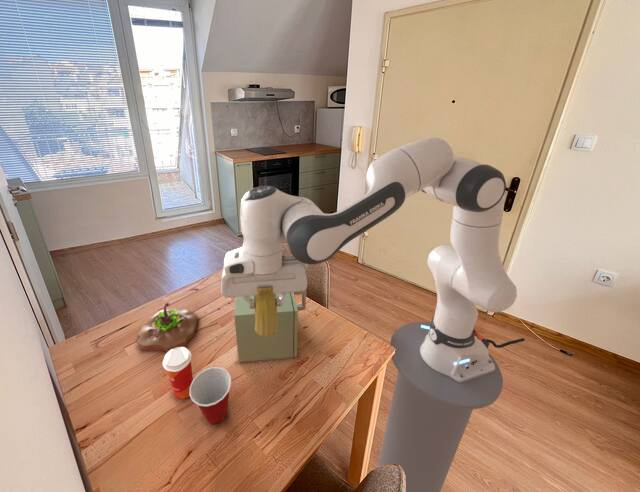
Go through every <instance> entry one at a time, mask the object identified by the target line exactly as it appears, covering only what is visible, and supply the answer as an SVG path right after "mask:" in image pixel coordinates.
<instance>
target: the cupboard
mask: <svg viewBox="0 0 640 492" xmlns="http://www.w3.org/2000/svg"><path fill="white" fill-rule="evenodd" d="M280 294H281V293H276V297H279V296H280ZM249 297H250V298H251V299H254V295H252V296H249ZM234 299H235V301H234V314H233V315H234V325H235V326H234V328H235V336H236V338H235V339H236V346H237V347H236V349H237V359H238V363H246V362H256V361H257V362H258V361H266V360H269V361H270V360H280V359H289V358H291V359H292V358H294V353H293V337H294V310H293V305H292V300H291V295H290V292H288V293H287V296H286V297H285V299H284V300H283V306H277V314H278V326H279V327H278V331H277V332H276V333H275V334H274V335H272V336H268V337H264V336H260V335H258V334H257V333H256V331H255V308H254V309H249V304H248V303H247V302H246V301H245V300H244V299H243V296H241V297H234Z"/></svg>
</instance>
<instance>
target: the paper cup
mask: <svg viewBox="0 0 640 492" xmlns="http://www.w3.org/2000/svg"><path fill="white" fill-rule="evenodd" d="M162 367H163V369H164V370H165V372H166V375H167V379H168V381H169V385H170V387H171V390H172V392H173V395H174V397H175V398H176V399H178V400H184V399H187V398H188V397H190V395H189V391H190V385H191V383H192V381H193V379H194V378H193V367H192V352H191V351H190V350H189V349H188V348H186V346H185V347H181V348H180V347H177V348H175V349H171V350H169V351H168V352H166V353H165V355H164V357H163V360H162Z"/></svg>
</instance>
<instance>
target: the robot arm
mask: <svg viewBox="0 0 640 492" xmlns="http://www.w3.org/2000/svg"><path fill="white" fill-rule="evenodd" d="M365 183H366V188H367V192H366V193H365V194H364V195H363V196H361V197H359V198H358V199H356V200H354V201H353V202H351V203H349V204H348V205H345V206H344V207H343V208H341V209H339V210H338V211H336V212H333V213H325V212H323V211H322V210H321V209H320V207H318V205H316V203H314V202H313V201H312V199H309V198H308V197H305V196H300V195H292V194H288V193H286V192H284V191H281V190H280V189H278V188H277V187H275V186H273V185H260V186H257V187H253V188H251V189H250V190H248V191H247V192H246V193H244V194H243V196H242V198H241V201H240V209H239V219H240V232H241V234H242V237H243V243H242V246H241V247H238V248H236V249H232V250H230V251H227V252H226V253H225V255H224V259H223V267H222V273H221V280H220V294H221V296H223V297H224V298H226V299H227V298H228V299H229V298H236V297H241V296H243V299H244V300H245V301H246V302H247V303H248V304H249V309H254V308H255V302H254V299H251V298H250V297H249V296H252V295H257V294H258V291H257V287H259V288H269V287H271V286H273V293H274V294H276V293H281V294H280V296H279V297H276V305H277V306H283V300H284V299H285V297H286V296H287V293H288V292H300V291H304V290H305V289H306V290H307V289H308V279H307V272H306V271H307V270H308V268H309V265H318V264H322V263H324V262H327V261H328V260H331V259H332V258H333V257H334V256H335V255H336V254H337V253H338V252H340V250H342V248H343V247H345V246H346V245H347V244H349V243H350V242H351V241H353V240H354V239H356V238H357V237H360V236H361V235H362V234H364V233H365V232H367V231H369V230H370V229H372V228H373V227H375V226H376V225H378V224H379V223H382V222H383V221H384V220H386V219H388V218H389V217H390V216H392V215H393V214H394V213H396V212H397V211H398V210H399V209H400V208H401V207H402V206H403V204H404V203H405V200H406V199H407V198H409V197H411V196H413V195H415V194H417V193H419V192H420V191H421V192H422V193H425V194H427V195H429V196H430V197H432V198H433V199H436V200H438V201H439V202H442V203H446V204H448V205H452V206H453V208H452V214H451V221H450V222H451V223H450V233H449V241H450V245H448V244H441V245H439V246H436V247H435V248H434V249H432V250H431V251H430V252H429V254H428V257H427V262H426V263H427V264H426V265H427V267H428V269H429V270H430V272H431V275H432V277H433V280H434V284H435V289H436V305H435V306H436V307H435V311H434V315H433V317H432V318H431V321H430V322H431V324H430V327H428V326H424V325H421V327H422V328H426V329H429V332H428V335H426V337H425V341H424V342H423V344H422V345H421V347H420V354H421V357H422V358H423V360H424V361H425V362H426V364H427V365H429V366H430V367H431V368H432V369H434V370H436V371H437V372H439V373H442V374H444V375H447V376H449V377H451V378H452V379H454V380H455V381H457V382H464V381H467V380H470V379H473V378H476V377H479V376H482V375H485V374H488V373H491V372H494V371H495V365H494V363H493V361H492V359H491V358H490V357H489V354H490V353H489V347H490V344H492V346H493V347H494V348H496V349H501V348H505V347H507V346H510V345H514V344H519V343H522V342H525V341H526V339H525V338H523V337H521V338H518V339H517V338H516V339H514V340H510V341H506V342H504V343H501V344H496V342H495V341H494V340H492V339H487V338H485V336H484V335H483V334H482V333H481V332H480V331H478V330H476V329H475V326H476V323H477V320H478V318H479V310H478V307H479V308H481V309H484V310H486V311H488V312H490V313H500V312H501V313H502V312H503V311H506V310H508V309H510V308H511V307H512V306H513V305H514V303H515V301H516V299H517V296H518V289H517V285H516V284H515V283H514V282H513V281H512V280H511V278H510V277H509V274H508V273H507V272H506V269H505V267H504V264H503V262H502V258H501V255H500V251H499V241H500V235H501V234H500V233H501V227H502V222H503V216H504V208H505V194H506V189H507V182H506V179H505V175H504V173H503V172H502V171H500V170H499V169H498V168H496V167H494V166H492V165H490V164H483V163H481V162H479V161H476V160H473V159H470V158H466V157H459V156H455V155H454V151H453V149H452V147H451V146H450V144H449V143H448V142H447V141H445V140H444V139H442V138H440V137H435V136H434V137H433V136H432V137H426V138H421V139H419V140H414V141H412V142H409V143H405V144H404V145H400V146H399V147H395V148H394V149H392V150H389V151H388V152H385V153H384V154H382V155H380V156H379V157H377V158H376V159H374V160H373V161H371V163H370V164H369V165H368V167H367V170H366V174H365ZM284 243H287V246H288V249H289V251H290V253H291V255H289V254H288V255H283V244H284Z"/></svg>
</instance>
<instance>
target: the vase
mask: <svg viewBox="0 0 640 492" xmlns="http://www.w3.org/2000/svg"><path fill="white" fill-rule="evenodd" d="M257 291H258V294H257V295H254V302H255V331H256V333H257V334H258V335H260V336H264V337H268V336H272V335H274V334H275V333H276V332H277V331H278V327H279V326H278V314H277V305H276V294H274V293H273V286H271V287H269V288H259V287H257Z"/></svg>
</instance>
